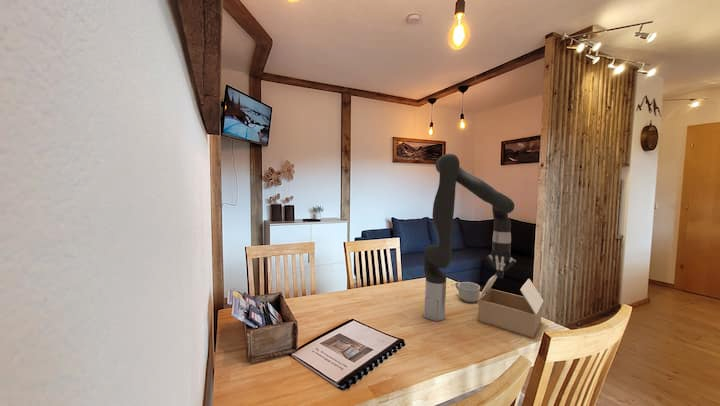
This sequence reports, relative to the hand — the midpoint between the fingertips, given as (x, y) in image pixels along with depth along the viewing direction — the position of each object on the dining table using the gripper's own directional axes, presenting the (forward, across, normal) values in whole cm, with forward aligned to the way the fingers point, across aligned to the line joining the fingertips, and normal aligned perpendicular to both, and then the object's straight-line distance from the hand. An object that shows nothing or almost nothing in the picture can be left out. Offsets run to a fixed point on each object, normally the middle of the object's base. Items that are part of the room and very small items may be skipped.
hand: (500, 277), depth 135 cm
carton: (+19, +5, -2) cm, 20 cm away
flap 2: (+4, +13, -2) cm, 14 cm away
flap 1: (+4, -4, -2) cm, 5 cm away
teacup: (+19, -19, +11) cm, 29 cm away
